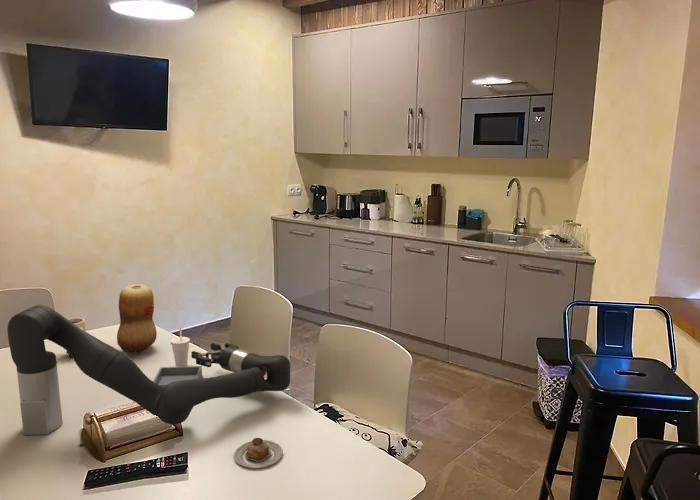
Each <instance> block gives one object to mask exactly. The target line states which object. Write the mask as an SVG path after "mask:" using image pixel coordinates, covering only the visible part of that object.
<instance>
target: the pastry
mask: <svg viewBox="0 0 700 500" xmlns="http://www.w3.org/2000/svg"><path fill="white" fill-rule="evenodd" d="M272 452H273V458H272V459H270V460H269V461H268V462H265V463H262V464H252V463H247V462H246V461H245V460H244V457H245V458H246V459H248V460H250V461H255V462H258V463H260V462H263V461H265V460H266V459H267V458H268V457H269V456H270V455H271V454H272ZM243 456H244V457H243ZM282 456H283V449H282V447H281V445H279V444H278V443H276V442H274V441H272V440H267V439H266V440H265V439H263V438H261V437H255V438H253V439H252V440H250V441H247V442H245V443H243V444H242V445H240V446H239V447H238V448H237V449H236V450H235V452H234V454H233V458H234V460H235V462H236V463H237V464H238V465H239V466H242V467H244V468H249V469H263V468H264V469H265V468H267V467H270V466H272V465H275V464H276V463H277V462H278V461H279V460H280V459H281V458H282Z"/></svg>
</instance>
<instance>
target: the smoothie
mask: <svg viewBox="0 0 700 500" xmlns="http://www.w3.org/2000/svg"><path fill="white" fill-rule="evenodd" d="M182 335H183V333H182V326H180V327H179V336H177V337H174V338H171V340H170V345H171V347H172V348H171V349H172V354H173V358H174V362H175V363H174V364H175V367H188V363H189V362H188V361H189V360H188V359H189V348H190V343H191V339H190V337H187V336H182Z"/></svg>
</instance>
